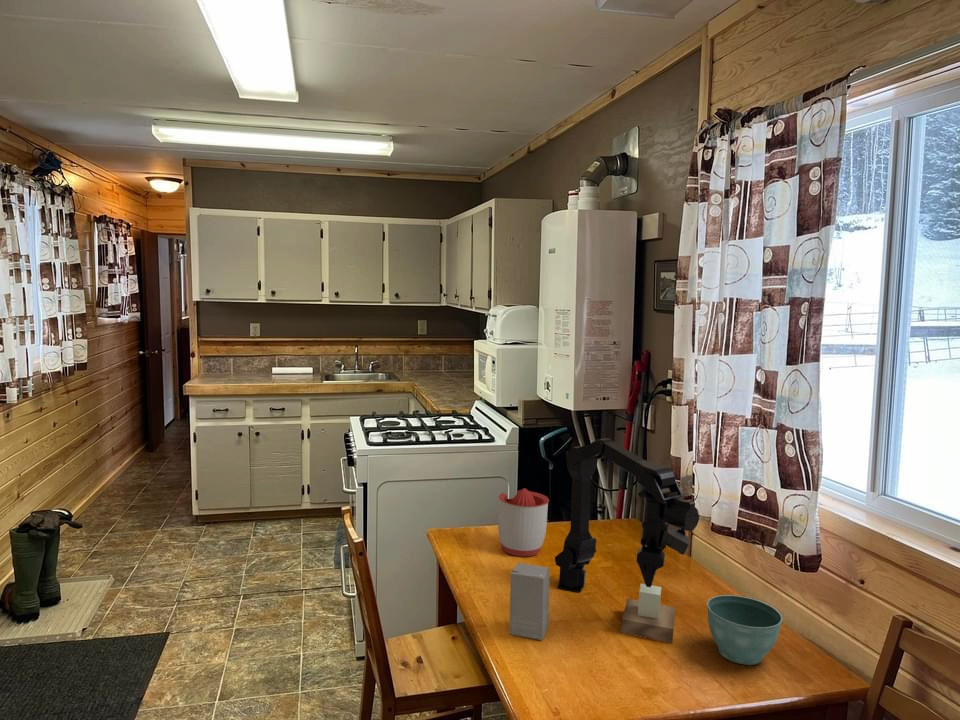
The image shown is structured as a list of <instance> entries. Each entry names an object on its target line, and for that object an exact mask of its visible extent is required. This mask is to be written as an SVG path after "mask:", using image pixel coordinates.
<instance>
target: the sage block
mask: <svg viewBox="0 0 960 720" xmlns="http://www.w3.org/2000/svg"><path fill="white" fill-rule="evenodd" d="M661 594H662V586H656V585H653V584H652V585H651V587H646V585H645V583H640V587H639V593H638V601H639V603H638V615H640V616H645V617H651V618H656V619H659V610H660V605H661V599H662V598H661Z"/></svg>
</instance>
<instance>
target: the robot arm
mask: <svg viewBox="0 0 960 720" xmlns="http://www.w3.org/2000/svg"><path fill="white" fill-rule="evenodd" d="M602 458H605V459H606V460H607V461H609V462H612V463H613V464H615V465H616V466H618V467H619V468H621V469H622V470H624V471H626V472H627V473H629V474H631V475H632V476H633V477H634V478H635V479H636V481H637V483H638V484H639V486H641V487H642V488H643V489H642V490H641V491H639V492H638V493H637V496H638V497H641V498H643V499H644V503H643V504H644V507H643V517H642V525H641V528H642V530H641V538H640V542H639V543H640V544H641V546H640V547H639V548H638V549H637V553H636V563H637V565H638V567H639V570H640V573H641V575H642V579H643V581H644V584H645V585H646V587H651V585H652V586H653V582H654V578H655V575H656V573H657V570H658V569H662V568H663V567H664V565H665V557H666V553H665V552H664V551H663V550H665V549H667V547H668V548H670V549H672V550H674V551H676V552H677V553H678V554H679V555H683V556H684V555H685V554H686V552H687V550H688V548H689V546H690V544H691V539H690V538H689V537H690V536H688V535H687V534H686V533H687V532H692V531H694V530H695V529H696V527H697V526H698V524H699V521H700V514H699V510H698V508H697V507H696V502H695V501H692V500H688V499H687V500H686V499H684V494H683V492H682V490H681V488H680V486H679V484H678V481H677V480H676V477H675V473H674V472H675V471H673V469H672V468H670V467H669V466H666V465H663V464H661V463H657V462H654V461H653V462H651V461H648V460H645V459H644V458H641V457H640V456H638V455H637V454H635V453H633V452H632V451H630V450H628V449H626V448H625V447H623V446H621V445H619V444H618V443H616V442H615V441H614V440H613V439H611V438H608V437H607V438H606V437H605V438H600V439H596V440H594V441H592V442H589V443H588V444H587V443H586V444H584V445H581V446H580V445H579V446H574V447H571V448H569V449H568V450H567V451H566V455H565V459H566V469H567V471H568V472H569V475H570V477H571V480H572V481H571V483H572V484H571V500H570V501H571V505H570V506H571V507H570V509H571V510H570V527H569V528H570V529H569V531H568V533H567V536H566V537H565V538H564V541H563V542H564V543H563V546H562V547H563V548H562V551H561V552H560V553H558V554H557V555H556V556H554V562H555V565H556V566H557V567H559V577H558V584H557V586H556V587H557V589H559V590H564V591H565V590H566V591H571V592H574V593H575V592H576V593H581V592H582V590H583V589H584V587H585V585H586V576H587V574H586V573H587V570H586V569H585V566H587V565H590V562H591V561H592V559H593V558H594V557H595V554H596V553H597V548H596V547H597V546H596V544H597V538H596V537H593V536H592V534H591V533H590V508H591V507H590V505H591V504H590V503H591V502H590V500H591V481H592V477H593V475H594V474H595V472H596V471H597V466H598V460H601V459H602ZM666 491H668V492H666ZM669 525H671V526H673V527H675V528H676V527H677V528H676V529H675V528H670V527H669ZM686 531H687V532H686Z"/></svg>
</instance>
